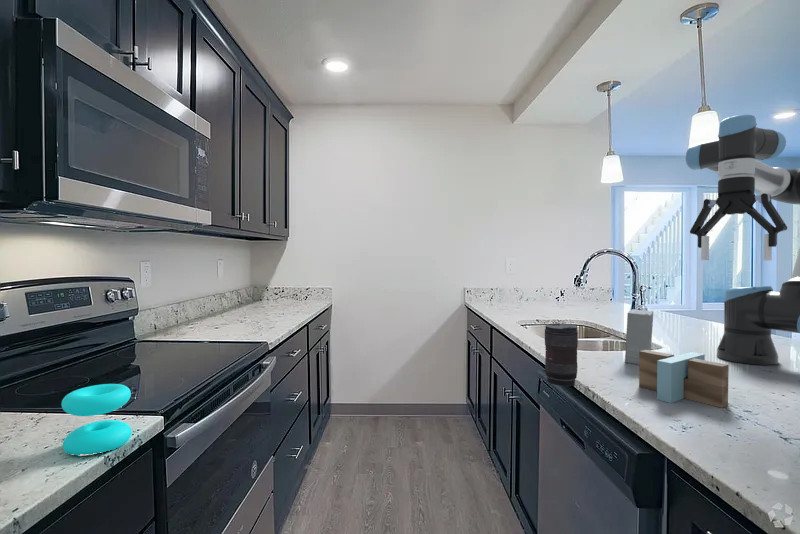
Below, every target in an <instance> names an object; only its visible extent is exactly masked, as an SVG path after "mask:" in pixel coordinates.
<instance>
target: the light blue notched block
mask: <svg viewBox="0 0 800 534" xmlns="http://www.w3.org/2000/svg"><path fill="white" fill-rule="evenodd" d="M705 358H706V354H705V353H699V352H692V351H690V352H686V353H682V354H678V355H674V356H673V357H670V358H666V359H662V360H658V361H657V391H656V400H658V401H661V402H666V403H668V404H672V403H675V402H677V401H681V400H684V398H683V394H684V378H685V377H688V360H691V359H700V360H706V359H705Z"/></svg>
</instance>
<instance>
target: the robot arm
mask: <svg viewBox="0 0 800 534" xmlns="http://www.w3.org/2000/svg"><path fill="white" fill-rule="evenodd" d="M756 120H757V118H756V117H755V115H752V114H738V115H733V116H729V117H727V118H724V119H723V120H721V121H720V123H719V126H718V127H719V128H718V134H717V137H718V138H717V139H714V140H708V141H703V142H702V141H701V142H700V143H696V144H693V145H691V146H690V147H688V148H687V150H686V153H685V156H684V157H685V162H686V165H687V167H688V168H689V169H690V170H694V171H696V170H697V171H698V170H703V169H708V170H710V171H713V172H715V173H718V178H719V180H718V181H717V195H718V196H717V198H716V199H709V198H706V199H704V200H703V203H702V204H703V205H702V209H701V211H700V212H699V214H698V216H697V217H696V220H695V221H694V223H693V224H692V227H691V228H690V231H689V233H690V234H691V235H695V236H697V248H699V249H700V248H701V249H700V251H701V252H700V260H701V261H710V236H709V235H708V234H709V232H710V231H711V230H712V229H713V228H715V226H716V225H717V224H718V222H719V221H720V220H722V219H723V218H724V217H726V215H731V216H732V215H736V214H739V215H745V214H747V215H749V216H750V217H751V218H752V219H753V220H754V221H755V222H756V223H758V224H759V225H760V226H761V227H762V229H764V230H766V231H767V233H764V234H763V260H762V261H765V262H766V261H772V259H773V256H772V254H773V251H772V250H773V247H777V246H778V234H779V233H780V232H784V231H787V230H788V226H787V225H786V223H785V221H784V219H783V218H782V217H781V215H780V213H779V212H778V210H777V209H776V207H775V206H774V204H773V202H772V200H773V201H776V202H780V203H784V204H789V205H800V167H799V168H798V167H797V168H791V169H788V168H784V167H781V166H780V167H779V166H776V167H774V166H771V165H769V164H767V163H765V162H762V160H763V161H764V160H771V159H774V158H777V157H778V156H779V155H781V154H782V153H783V151H784V150H785V149H786V146H787V145H786V144H787V140H786V136H785V135H784V134H783V133H781V132H779V131H776V130H774V129H770V128H761V127H757V121H756ZM755 191H756V192H757V193H758V195H756V194H755V193H756V192H755ZM756 202H758V203H759V204H761V205H762V207H763V208H764V210H765V212H766V213H767V214H768V216H769V218H770V219H771V221H772V223H773V224H774V225H773V224H772V223H771V222H770V221H769V220H768V219H766V218H765V217H764V216H763V215H762V214H761V213H760V212H758V210H757V209H756V208H755V207H754V204H755V203H756ZM716 205H717V207H718V208H717V210H716V211H715V212H714V214H713V215H712V217H711V218H710V219H708V221H706V220H707V218H708V217H709V215H710V213H711V211H712V210H713V209H712V208H714V207H715V206H716ZM705 222H706V223H705ZM796 256H797V257H796V260H795V263H794V267H793V269H792V272H791V273H792V274H791V278H790V279H788V280H786V281H783V282H782V284H781V287H780V290H779V291H778V290H774V289H773V287H772V286H771V285H760V286H758V285H757V286H745V287H744V286H743V287H741V286H740V287H731V288H730V287H729V288H727V289H726V290H725V292H724V293H725V294H724V300H723V303H724V304H723V305H724V307H723V310H724V311H723V312H724V313H723V315H724V316H723V318H724V319H723V321H724V322H723V334H722V337H721V339H720V342H719V344H718V347H717V349H716V357H718V358H719V359H721V360H725V361H728V362H729V361H730V362H734V363H739V364H740V363H741V364H747V365H759V366H760V365H761V366H762V365H763V366H766V365H767V366H771V365H773V366H774V365H777V364H779V354H778V352H777V349H776V347H775V343H774V341H773V339H772V331H773V330H774V331H779V332H788V333H793V334H794V333H795V334H800V248H799V250H798V253H797V255H796Z"/></svg>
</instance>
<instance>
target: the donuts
mask: <svg viewBox="0 0 800 534" xmlns="http://www.w3.org/2000/svg"><path fill="white" fill-rule="evenodd" d="M131 396H132V393H131V389H130V388H129V386H127V385H124V384H121V383H103V384H102V383H101V384H95V385H89V386H86V387H82V388H78V389H76V390H72V391H71V392H70V393H67V394H66V395H65V396H64V397H63V399H62V400H61V409H62V410H63V411H64V412H65V413H66V414H68V415H71V416H76V417H93V416H99V415H104V414H108V413H111V412H114V411H117V410H118V409H120V408H122V407H123V406H124V405H126V404H127V403H128V401H130V399H131ZM132 433H133V429H132V427H131V426H130V424H128V423H126V422H125V421H121V420H117V419H107V420H98V421H93V422H90V423H86V424H83V425H81V426H79V427H76V428H75V429H74V430H72V431H71V432H69V433H68V434H67V435H66V436H65V438H64V439H63V441H62V449H63V451H64V453H66V454H67V453H68V454H67V455H69V454H74V455H80V454H93V453H100V452H106V451H109V452H111V451H110V450H112V451H114V450H116V448H117V449H118V448H120V447H123V445H124V446H125V444H126V443H127V442H129V440H130V438H131V436H132ZM106 453H107V452H106Z"/></svg>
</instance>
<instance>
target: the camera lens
mask: <svg viewBox="0 0 800 534" xmlns="http://www.w3.org/2000/svg"><path fill="white" fill-rule="evenodd" d="M578 335H579V330H578V327H577V325H575V324H571V323H562V322H561V323H557V322H556V323H548V324H546V325H545V327H544V346H545V347H544V348H545V349H544V350H545V359H544V360H545V361H544V369H545V376H546V379H547V383H548V384H552V385H555V386H561V387H571V386H574V385H575V384H576V379H577V378H578V377H577V376H578V347H579V345H578V344H579V338H578V337H579V336H578Z"/></svg>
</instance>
